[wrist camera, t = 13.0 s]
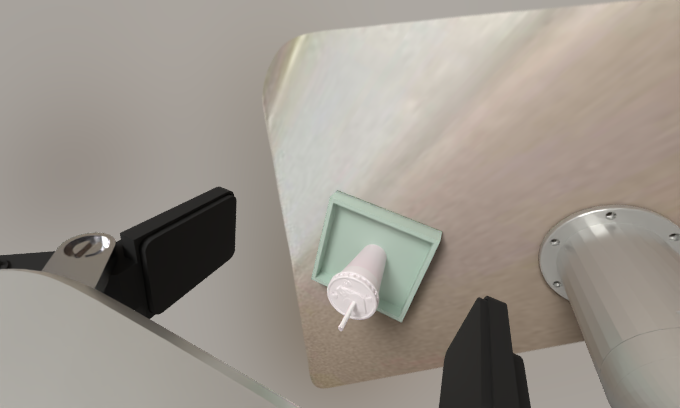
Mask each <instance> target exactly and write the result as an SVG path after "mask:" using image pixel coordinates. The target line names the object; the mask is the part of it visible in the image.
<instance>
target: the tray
mask: <svg viewBox="0 0 680 408" xmlns="http://www.w3.org/2000/svg"><path fill="white" fill-rule="evenodd" d="M441 235H442V231H439V230H437V229H434V228H432V227H429V226H427V225H424V224H421V223H419V222H416V221H414V220H411V219H409V218H406V217H404V216H401V215H399V214H396V213H394V212H391V211H388V210H386V209H383V208H381V207H378V206H376V205H373V204H371V203H368V202H366V201H363V200H361V199H358V198H355V197H353V196H350V195H348V194H345V193H343V192H340V191H336V192H335V193H334V194H333V195H332V196H331V197H330V200H329V204H328V208H327V213H326V217H325V222H324V226H323V230H322V235H321V239H320V243H319V248H318V252H317V256H316V261H315V265H314V269H313V274H312V278H311V279H312V280H314V281H316V282H318V283H321V284H323V285H325V286H327V287H328V285H329V283H330V280H331V279H332V278H333V276H334V275H336V274H337V273H340V272H341V271H342V270H343V269H344V268H345V267H346V266H347V265H348V264H349V263H350V262H351V261H352V260H353V259H354V258H355V257H356V256H357V255H358V254H359V253H360V251H361V250H362V249H363V248H364V247H365V246H367V245H370V244H374V245H378V246H380V247H381V248H382V249H383V250H384V251H385V253H386V255H387V260H386V264H385V268H384V273H383V277H382V281H381V285H380V290H379V294H378V295H379V304H378V307H377V309H376V310H377V311H379V312H381V313H383V314H385V315H387V316H389V317H391V318H393V319H395V320H397V321H399V322H401V323H402V321H403V319H404V317H405V314H406V312H407V310H408V308H409V306H410V304H411V302H412V300H413V298H414V295H415V293H416V291H417V289H418V287H419V285H420V283H421V281H422V279H423V276H424V274H425V272H426V270H427V268H428V266H429V264H430V262H431V260H432V258H433V255H434V253H435V251H436V249H437V247H438V245H439V243H440V240H441Z"/></svg>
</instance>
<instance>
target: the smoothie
mask: <svg viewBox="0 0 680 408" xmlns="http://www.w3.org/2000/svg"><path fill="white" fill-rule="evenodd" d="M386 260H387V255H386V253H385V251H384V250H383V249H382V248H381V247H380V246H378V245H374V244H370V245H367V246H365V247H364V248H363V249H362V250H361V251H360V253H359V254H358V255H357V256H356V257H355V258H354V259H353V260H352V261H351V262H350V263H349V264H348V265H347V266H346V267H345V268H344V269H343V270H342V271H341V272H340V273H337V274H336V275H334V276H333V278H332V279H331V280H330V283H329V285H328V287H327V295H328V299H329V301H330V303H331V304H332V306H333V307H334V308H335V309H336V310H337V311H338V312H339V313H341V314H342V315H344V318H343V319H342V321H341V323H340V325H339V327H338V330H340V331H343V329H344V327H345V325H346V323H347V321H348V319H349V318H351V319H356V320H363V319H367V318H369V317H371V316H372V315H373V314H374V313H375V311H376V309H377V307H378V304H379V295H378V294H379V290H380V285H381V281H382V277H383V273H384V268H385V264H386Z"/></svg>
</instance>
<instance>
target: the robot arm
mask: <svg viewBox="0 0 680 408" xmlns="http://www.w3.org/2000/svg"><path fill="white" fill-rule="evenodd" d="M608 212H610V213H609V214H607V213H608ZM235 228H236V198H235V197H234V194H233V192H232V191H229V190H227V189H224V188H222V187H216V188H214V189H212V190H210V191H208V192H206V193H203V194H201V195H199V196H197V197H195V198H193V199H191V200H189V201H187V202H185V203H182V204H180V205H178V206H176V207H174V208H172V209H170V210H168V211H166V212H163V213H161V214H159V215H157V216H155V217H153V218H151V219H149V220H147V221H145V222H142V223H140V224H138V225H137V226H134V227H132V228H130V229H128V230H126V231H124V232H121V233H120V236H121V240H119V241H118V242H116V241H115V239H114V237H113V236H111V235H109V234H105V233H96V232H95V233H86V234H81V235H78V236H75V237H72V238H70V239H68V240H66V241H65V242H63V243H62V244H61V245H60V246H59V247H58V248H57V250H56V251H53V252H40V253H26V254H13V255H0V408H301V407H299V406H297V405H296V404H294V403H292V402H291V401H289V400H287V399H286V398H284V397H282V396H281V395H279V394H277V393H275V392H274V391H272V390H270V389H269V388H267V387H265V386H263V385H262V384H260V383H258V382H257V381H255V380H253V379H252V378H250V377H248V376H247V375H245V374H243V373H241V372H240V371H238V370H236V369H235V368H233V367H231V366H229V365H228V364H226V363H224V362H222V361H221V360H219V359H217V358H216V357H214V356H212V355H210V354H209V353H207V352H205V351H203V350H202V349H200V348H198V347H197V346H195V345H193V344H192V343H190V342H188V341H186V340H185V339H183V338H181V337H179V336H178V335H176V334H174V333H173V332H170V331H169V330H167V329H166V328H164V327H162V326H160V325H159V324H157V323H155V322H153V321H152V320H150V318H152V317H153V316H154V315H155V314H161V313H162V312H164V311H165V310H166V309H167V308H169V307H170V306H171V305H172V304H174V303H175V302H176V301H177V300H179V299H180V298H181V297H183V296H184V295H185V294H186V293H188V292H189V291H190V290H191V289H193V288H194V287H195V286H196V285H198V284H199V283H200V282H202V281H203V280H204V279H205V278H207V277H208V276H209V275H210V274H212V273H213V272H214V271H215V270H217V269H218V268H219V267H220V266H222V265H223V264H224V263H225V262H227V261H228V260H229V259H230V258H231V257H232V256H233V254H234V251H235ZM552 239H555V240H552ZM539 265H540V268H541V272H542V274H543V276H544V278H545V280H546V282H547V283H548V285H549V286H550V287H551V288H552V289H553V290H554V291H555V292H557V293H558V294H559V295H560V296H562V297H564V298H565V299H567V300H569V301H570V304H571V306H572V309H573V312H574V314H575V317H576V319H577V322H578V325H579V327H580V330H581V332H582V335H583V337H584V340H585V343H586V345H587V348H588V350H589V353H590V356H591V358H592V361H593V363H594V366H595V368H596V371H597V373H598V376H599V379H600V381H601V384H602V386H603V389H604V392H605V394H606V397H607V399H608V401H609V404H610V406H611V407H612V408H680V228H679V227H678V226H677V225H676V224H674V223H673V222H672V221H671V220H669V219H668V218H666V217H664V216H662V215H660V214H658V213H657V212H654V211H651V210H648V209H645V208H641V207H635V206H629V205H606V206H597V207H593V208H589V209H585V210H582V211H579V212H577V213H575V214H572V215H570V216H568V217H566V218H565V219H563V220H562V221H560V222H559V223H557V224H556V225H555V226H554V227H553V228H552V229H551V230H550V231H549V232H548V234H547V235H546V236H545V238H544V239H543V242H542V244H541V246H540V251H539ZM134 310H135V311H134ZM439 408H531V406H530V399H529V393H528V387H527V380H526V374H525V368H524V363H523V359H522V358H521V357H520V356H518V355H516V354H514V353H513V350H512V342H511V334H510V326H509V318H508V310H507V305H506V303H504V302H501V301H499V300H496V299H494V298H491V297H489V296H486V297H485V298H484V299H482V298H477V300H476V301H475V303H474V305H473V307H472V308H471V310H470V312H469V314H468V315H467V317H466V319H465V320H464V322H463V324H462V326H461V327H460V329H459V331H458V332H457V334H456V336H455V338H454V339H453V341H452V343H451V345H450V346H449V348H448V350H447V352H446V355H445V359H444V367H443V376H442V386H441V394H440V403H439Z"/></svg>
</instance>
